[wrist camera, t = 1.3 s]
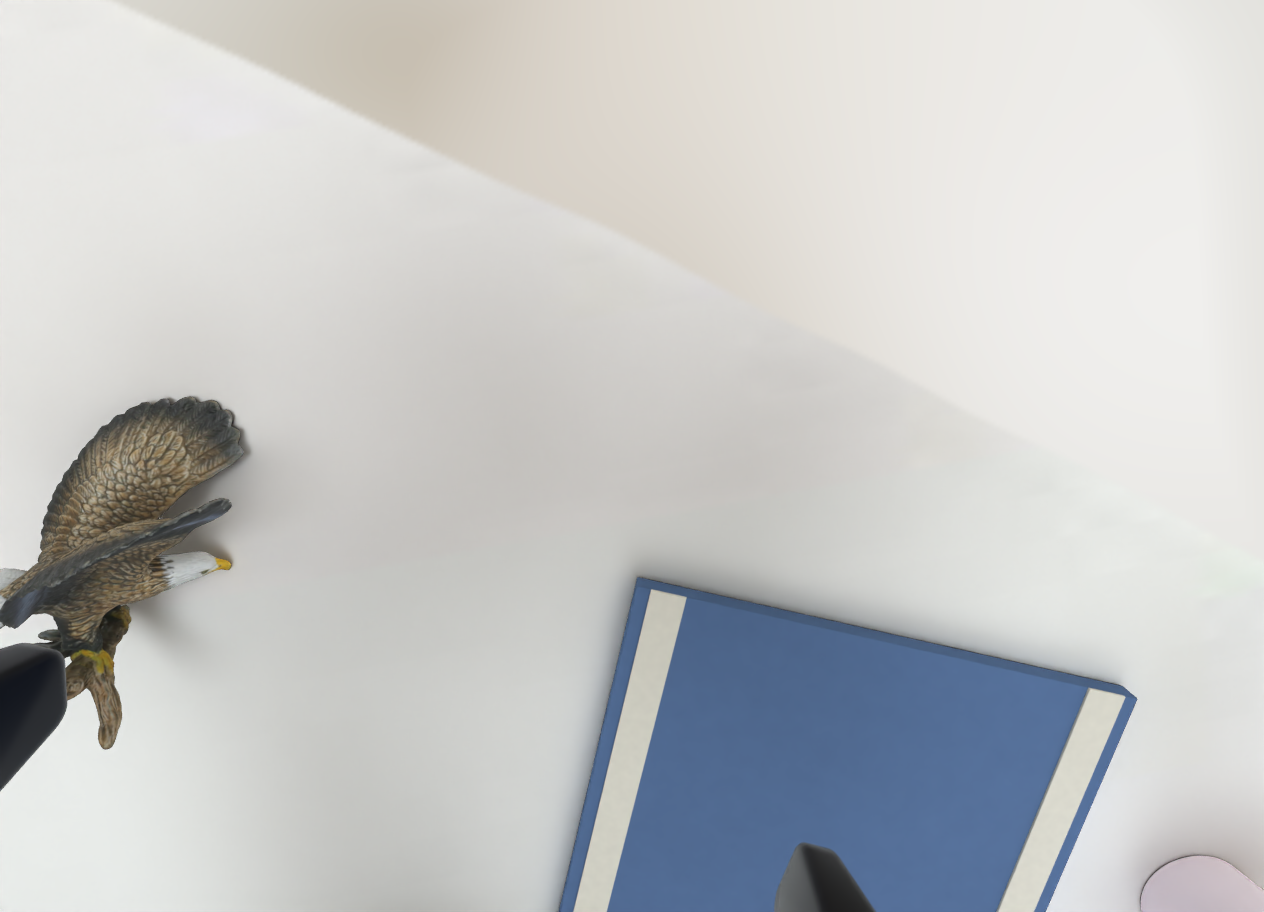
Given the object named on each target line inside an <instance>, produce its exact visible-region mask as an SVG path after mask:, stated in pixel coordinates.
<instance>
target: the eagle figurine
mask: <svg viewBox="0 0 1264 912" xmlns="http://www.w3.org/2000/svg"><path fill="white" fill-rule="evenodd" d="M232 419H233V418H232V415H231V413H230V412H229V411H228V410H221V409H220V407H219V404H218V403H217V402H216V401H213V400H208V401H205V402H202V403H197V402H196V399H195V398H193V397H184V398H182V399H180V400H178V401H177V402H175V403H174V404H173V405H170V402H169V400H168V399H160V400H159V401H158V402H157V403H155V404H154V405H151V403H149V402H145V403H141V404H140V405H139V406H136V407H133V408H130V409H129V410H127V411H126V413H125V414H121V415H117V416H115V417H114V418H113V419H112V421H111V422H110V423H109V424H108V425H105V426H102V427H101V428H100V429H99V431H98V432H97V434H96V435H95V436H94V438H93V439H91V440H90V441H89V442H88V443H87V445H86V446H85V447H84V448H83V449H82V450H81V452H80V454H79V455H78V460H75V461H73V463H72V464H71V466H70V468H69V470H67V471H66V472H65V473H64V475H63V478H62V482H61V483H59V484H58V485H57V487H56V490H55V492H54V493H53V496H52V500H51V502H50V503H49V505H48V506H47V508H48V512H47V514H46V515H45V517H44V520H43V524H44V527H43V529H42V530H41V535H42V541H41V545H40V548H41V550H42V552H41V554H40V555H39V558H38V562H39V563H37V564H36V565H34V566H33V567H32V568H31V569H30V570H28V571H23V570H17V569H6V568H4V569H0V629H1V628H2V627H3V626H5V625H6V626H8V627H12V628H14V629H15V628H17V627H19V626H20V625H21V624H22V623H23V622H24V621H26V620H27V619H28V618H29V617H30V616H31V615H32V614H42V613H46V614H49V615H51V616H53V618H54V620H55V622H56V624H57V626H58V630H47V631H44V632H41V633H40V634H39V635H38V637H39V638H40V639H44V640H50V641H53V642H49V643H35V645H39V646H43V647H46V648H50V649H54V650H57V651H59V652H60V653H61V654H62V655H63V657H64V658H66V657H69V656H70V658H71V660H72V663H71V664H69V665H68V666H67V667H66V668H65V672H66V689H67V701H68V700H70V699H72V698H74V697H75V696H77V695H78V694H80V693H81V692H82V691H83V690H85V689H86V688H87V689H88V690H89V691H90V692H91V694H92V697H93V699H94V702H95V705H96V708H97V711H98V716H99V721H100V727H99V731H98V740H99V743H100V745H101V747H102V748H103V749H109V748H111V747H112V746H113V744H114V742H115V739H116V736H117V733H118V729H119V727H120V724H121V719H122V711H121V702H120V697H119V694H118V692H117V690H116V688H115V686H114V680H115V676H114V672H113V667H114V662H113V658H114V655H115V651H116V646H117V644H118V643H119V642H120V641H121V639H122V637H123V635H124V634H126V633H127V631H128V628H129V625H128V624H129V623H130V622H131V617H130V614H129V607H128V606H127V605H123V604H128V603H133V602H137V601H140V600H144V599H146V598H149V597H152V596H155V595H157V594H159V593H161V592H162V591H165V590H168V589H171V588H173V587H175V586H177V585H180V584H183V583H185V582H188V581H191V580H193V579H196V578H199V577H202V576H204V575H206V574H208V573H210V572H213V571H215V570H220V569H224V570H229V569H230V568H231V563H230V562H229V561H227V560H224V559H219V558H215V557H213V556H212V555H210V554H209V553H206V552H189V553H182V554H174V555H159V554H160V553H162V552H164V551H165V550H167V549H169V548H171V547H173V546H174V545H176V544H178V543H180V542H181V541H182V540H183V539H184V538H185V537H186V536H187V535H188V534H189V533H190V532H191V531H192V530H193V529H195V528H197V527H199V526H201V525H203V524H206V523H208V522H210V521H212V520H214V519H216V518H218V517H220V516H222V515H223V514H224V513H226V512H227V511H228V510H229V509H230V508H231V507H232V504H231V502H230V503H229V499H223V498H218V499H215V500H213V501H210V502H209V503H207V504H205V505H203V506H202V507H200V508H198V509H191V510H188V511H186V512H184V513H182V514H180V515H178V516H177V517H175V518H173V519H171V518H167V519H159V520H157V519H158V518H159V517H160V516H161V515H162V514H163V513H164V512H166V511H167V510H168V509H169V507H170V506H172V505H173V504H174V503H175V502H176V501H177V500H178V499H179V498H180V497H181V496H182V495H183V494H185V493H186V492H187V491H188V490H189V489H191V488H192V487H194V486H196V485H198V484H200V483H201V482H203V481H205V480H207V479H209V478H211V477H213V476H214V475H216V474H217V473H218V472H220V471H222V470H224V469H225V468H227V467H229V466H230V465H232V464H233V463H234V462H235V461H236V460H238V459H239V458H240V457H241V456H242V455H243V449H242V448H241V447H240V446H239V445H238V442H239V438H240V431H239V430H238V429H236V428H234V427H232V426H231V424H232ZM120 605H123V606H120Z"/></svg>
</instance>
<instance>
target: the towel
mask: <svg viewBox="0 0 1264 912" xmlns="http://www.w3.org/2000/svg"><path fill="white" fill-rule="evenodd" d="M1136 701H1137V698H1136V697H1135V696H1134V695H1132V694H1131V693H1130V692H1129V691H1128V690H1126V689H1125V688H1124V687H1123V686H1120V685H1115V684H1111V683H1106V682H1102V681H1097V680H1093V679H1089V678H1084V677H1080V676H1075V675H1071V674H1066V673H1062V672H1057V671H1053V670H1049V669H1044V668H1040V667H1035V666H1031V665H1026V664H1022V663H1018V662H1013V661H1009V660H1004V659H1000V658H995V657H991V656H986V655H982V654H978V653H973V652H969V651H964V650H960V649H955V648H951V647H946V646H942V645H938V644H933V643H929V642H924V641H920V640H915V639H911V638H906V637H902V636H898V635H893V634H889V633H884V632H880V631H875V630H871V629H866V628H862V627H858V626H853V625H849V624H844V623H840V622H835V621H831V620H826V619H822V618H818V617H813V616H809V615H804V614H800V613H795V612H791V611H786V610H782V609H778V608H773V607H769V606H764V605H760V604H755V603H751V602H747V601H742V600H738V599H733V598H729V597H724V596H720V595H715V594H711V593H707V592H702V591H698V590H693V589H689V588H684V587H680V586H675V585H671V584H667V583H662V582H658V581H653V580H649V579H644V578H640V577H638V578H637V581H636V585H635V589H634V593H633V598H632V602H631V606H630V610H629V615H628V619H627V623H626V627H625V632H624V636H623V640H622V644H621V649H620V653H619V657H618V661H617V666H616V670H615V674H614V678H613V683H612V687H611V691H610V695H609V700H608V704H607V708H606V712H605V717H604V721H603V725H602V729H601V734H600V738H599V742H598V746H597V751H596V755H595V759H594V763H593V768H592V772H591V776H590V780H589V785H588V789H587V793H586V797H585V802H584V806H583V810H582V814H581V819H580V823H579V827H578V831H577V836H576V840H575V844H574V848H573V853H572V857H571V861H570V865H569V870H568V874H567V878H566V882H565V887H564V891H563V895H562V899H561V904H560V908H559V912H774V904H775V897H776V892H777V889H778V886H779V884H780V882H781V879H782V877H783V875H784V873H785V870H786V868H787V866H788V863H789V861H790V859H791V857H792V854H793V852H794V850H795V848H796V847H797V846H798V845H799V844H800V843H803V842H806V843H810V844H814V845H818V846H821V847H825V848H829V849H831V850H833V851H834V852H835V853H836V854H837V855H838V856H839V857H840V859H841V860H842V862H843V863H844V865H845V866H846V868H847V869H848V871H849V872H850V874H851V875H852V877H853V878H854V879H855V881H856V882H857V884H858V885H859V887H860V888H861V890H862V891H863V893H864V894H865V896H866V897H867V899H868V900H869V902H870V903H871V905H872V906H873V908H874V909H875V911H876V912H1046V910H1047V907H1048V905H1049V903H1050V900H1051V898H1052V896H1053V893H1054V891H1055V889H1056V886H1057V884H1058V882H1059V879H1060V877H1061V875H1062V872H1063V870H1064V868H1065V866H1066V863H1067V861H1068V859H1069V856H1070V854H1071V852H1072V849H1073V847H1074V845H1075V842H1076V840H1077V838H1078V835H1079V833H1080V831H1081V828H1082V826H1083V824H1084V822H1085V819H1086V817H1087V815H1088V812H1089V810H1090V808H1091V805H1092V803H1093V801H1094V798H1095V796H1096V794H1097V791H1098V789H1099V787H1100V784H1101V782H1102V780H1103V778H1104V775H1105V773H1106V771H1107V768H1108V766H1109V764H1110V761H1111V759H1112V757H1113V754H1114V752H1115V750H1116V747H1117V745H1118V743H1119V740H1120V738H1121V736H1122V734H1123V731H1124V729H1125V727H1126V724H1127V722H1128V720H1129V717H1130V715H1131V713H1132V710H1133V708H1134V706H1135V703H1136Z"/></svg>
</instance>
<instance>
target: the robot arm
mask: <svg viewBox="0 0 1264 912" xmlns="http://www.w3.org/2000/svg"><path fill="white" fill-rule="evenodd" d="M66 708H67V689H66V672H65V660H64V657H63V655H62V654H61V653H60V652H59V651H57V650H54V649H50V648H46V647H43V646H39V645H35V644H31V643H20V644H16V645H12V646H8V647H5V648H2V649H0V791H1V790H2V789H3V788H4V786H5V785H6V784H7V783H8V782H9V781H10V780H11V779H12V777H13V776H14V775H15V774H16V773H17V772H18V771H19V770H20V768H21V767H22V766H23V765H24V764H25V763H26V762H27V760H28V759H29V758H30V757H31V756H32V755H33V754H34V753H35V751H36V750H37V749H38V748H39V747H40V746H41V745H42V743H43V742H44V741H45V740H46V739H47V738H48V737H49V736H50V734H51V733H52V732H53V731H54V730H55V729H56V727H57V726H58V725H59V723H60V722H61V720H62V718H63V716H64V714H65V712H66ZM774 912H876V911H875V909H874V908H873V906H872V905H871V903H870V902H869V900H868V899H867V897H866V896H865V894H864V893H863V891H862V890H861V888H860V887H859V885H858V884H857V882H856V881H855V879H854V878H853V877H852V875H851V874H850V872H849V871H848V869H847V868H846V866H845V865H844V863H843V862H842V860H841V859H840V857H839V856H838V855H837V854H836V853H835V852H834V851H833V850H831V849H829V848H825V847H821V846H818V845H814V844H810V843H806V842H803V843H800V844H799V845H798V846H797V847H796V848H795V850H794V852H793V854H792V857H791V859H790V861H789V863H788V866H787V868H786V870H785V873H784V875H783V877H782V879H781V882H780V884H779V886H778V889H777V892H776V897H775V904H774Z"/></svg>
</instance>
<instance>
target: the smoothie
mask: <svg viewBox="0 0 1264 912" xmlns="http://www.w3.org/2000/svg"><path fill="white" fill-rule="evenodd" d="M1141 910H1142V912H1264V890H1263V889H1261V888H1260V887H1259V886H1258V885H1256V884H1255V883H1254V882H1253V881H1251V880H1250V879H1249V878H1247V877H1246V876H1245V875H1244V874H1242V873H1241V872H1240V871H1239V870H1237V869H1236V868H1235V867H1234V866H1232V865H1231V864H1229V863H1228V862H1226V861H1224V860H1221V859H1219V858H1215V857H1210V856H1189V857H1184V858H1181V859H1177V860H1175V861H1172V862H1170V863H1168V864H1166V865H1165V866H1163V867H1162V868H1160V869H1159V870H1158V871H1157V872H1155V873H1154V874H1153V875H1152V876H1151V878H1150V879H1149V880H1148V882H1147V883H1146V885H1145V887H1144V889H1143V892H1142V895H1141Z"/></svg>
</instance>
